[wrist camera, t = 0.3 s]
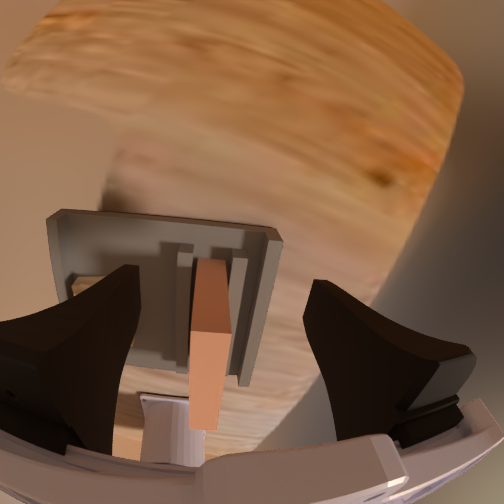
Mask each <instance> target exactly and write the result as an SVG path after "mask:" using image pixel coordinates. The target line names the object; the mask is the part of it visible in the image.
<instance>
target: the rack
mask: <svg viewBox="0 0 504 504" xmlns="http://www.w3.org/2000/svg"><path fill="white" fill-rule="evenodd" d="M46 225H47V234H48V242H49V250H50V257H51V263H52V269H53V275H54V280H55V285H56V290H57V295H58V299H59V303H62V302H64V301H66V300H68V299H70V298H72V297H74V293H73V290H72V287H71V286H72V284H73V283H74V282H75V280H76V279H77V278H78V277H91V276H107V275H109V274H110V273H112V272H113V271H115V270H116V269H118V268H119V267H121V266H122V265H124V264H130V265H139V272H140V292H141V306H142V308H141V313H140V317H139V322H138V326H137V330H136V337H135V340H134V344H133V347H130V350H129V353H128V356H127V358H126V361H125V365H131V366H138V367H145V368H153V369H161V370H170V371H176V373H182V374H187V372H189V368H190V337H191V322H192V311H193V300H194V290H195V281H196V271H197V263H198V258H207V259H217V260H226V273H227V285H228V297H229V308H230V319H231V330H232V336H231V342H230V349H229V355H228V361H227V367H226V374H225V376H228V375H237V378H238V386H239V387H249V384H250V380H251V376H252V372H253V368H254V364H255V360H256V357H257V353H258V349H259V345H260V340H261V336H262V332H263V328H264V324H265V320H266V316H267V312H268V307H269V303H270V299H271V295H272V290H273V286H274V282H275V277H276V273H277V269H278V264H279V260H280V255H281V251H282V246H283V240H282V238H281V236H280V235H279V233H278V231H277V229H276V228H267V227H259V226H250V225H241V224H232V223H222V222H213V221H203V220H193V219H183V218H173V217H162V216H151V215H139V214H127V213H115V212H102V211H88V210H73V209H60V210H59V211H57V212H56V213H54V214H53V215H51V216H50V217H49V218H47V219H46Z"/></svg>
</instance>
